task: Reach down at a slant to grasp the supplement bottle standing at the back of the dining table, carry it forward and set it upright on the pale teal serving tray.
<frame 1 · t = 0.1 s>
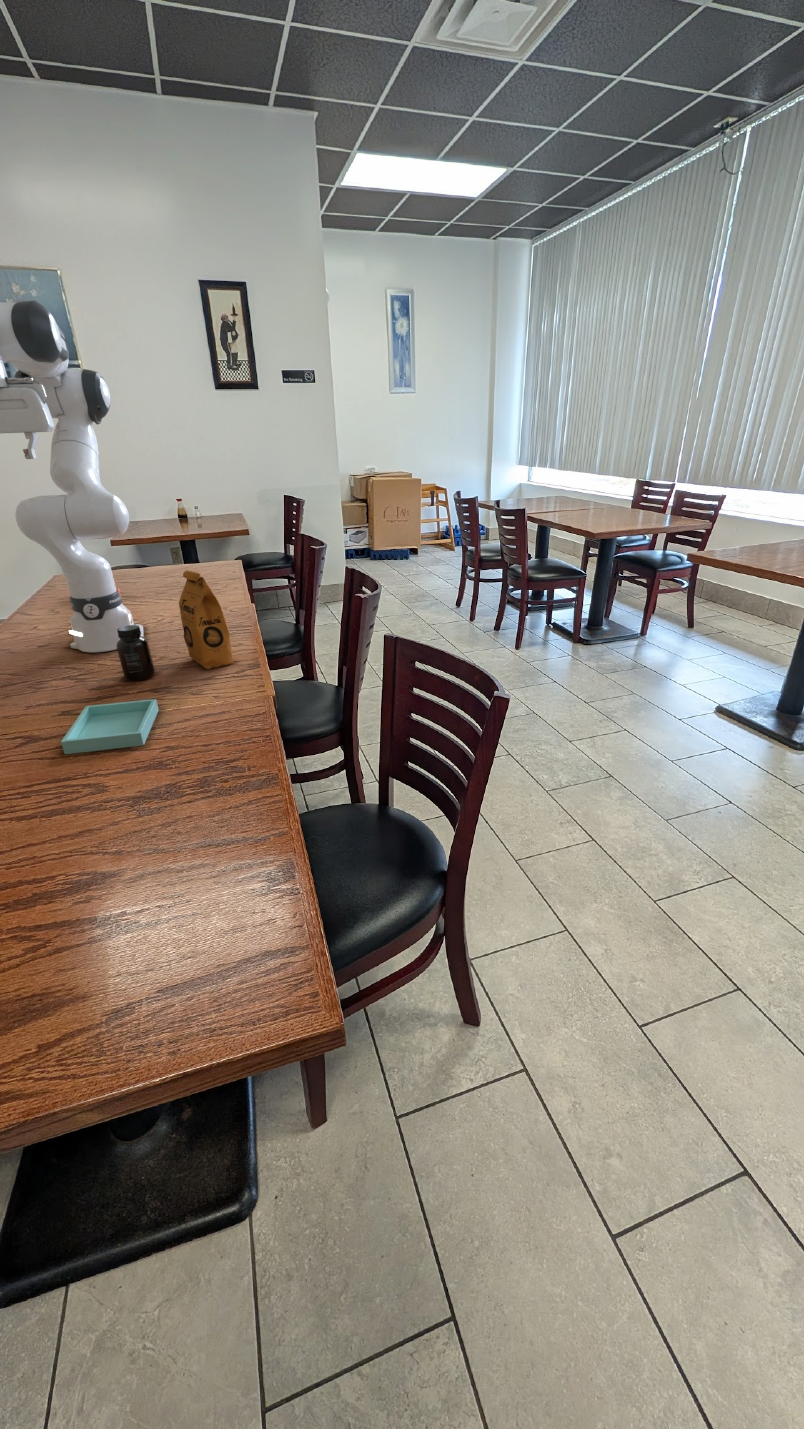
hand: (5, 460, 114), 48 cm above the table, tool pointing down, fingers open, 8 cm apart
coffee package: (212, 661, 147), on the table
serving tray: (115, 730, 114), on the table
supplement bottle: (140, 677, 139), on the table
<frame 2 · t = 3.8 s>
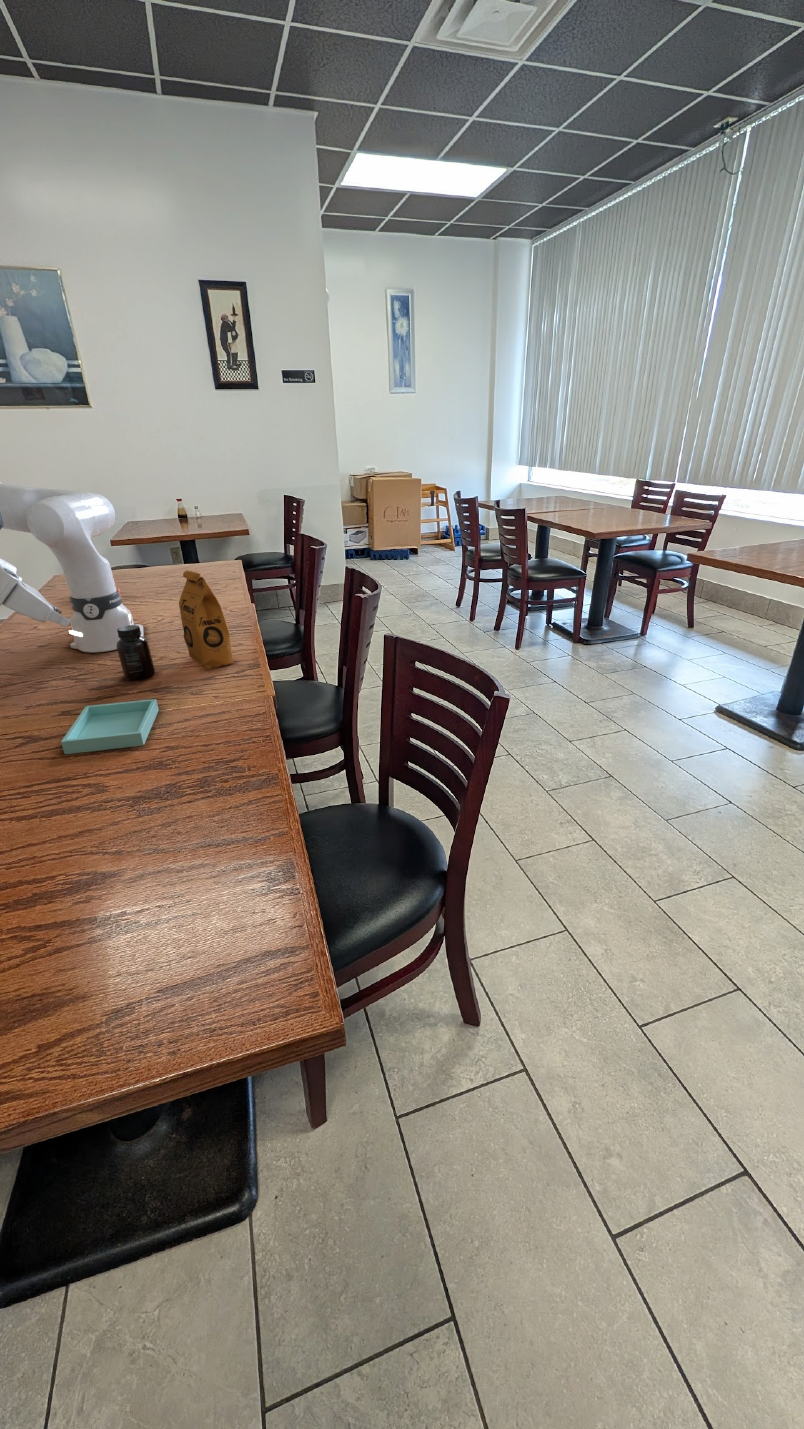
hand: (63, 618, 125), 17 cm above the table, tool tilted 45°, fingers open, 8 cm apart
nothing on the table moved.
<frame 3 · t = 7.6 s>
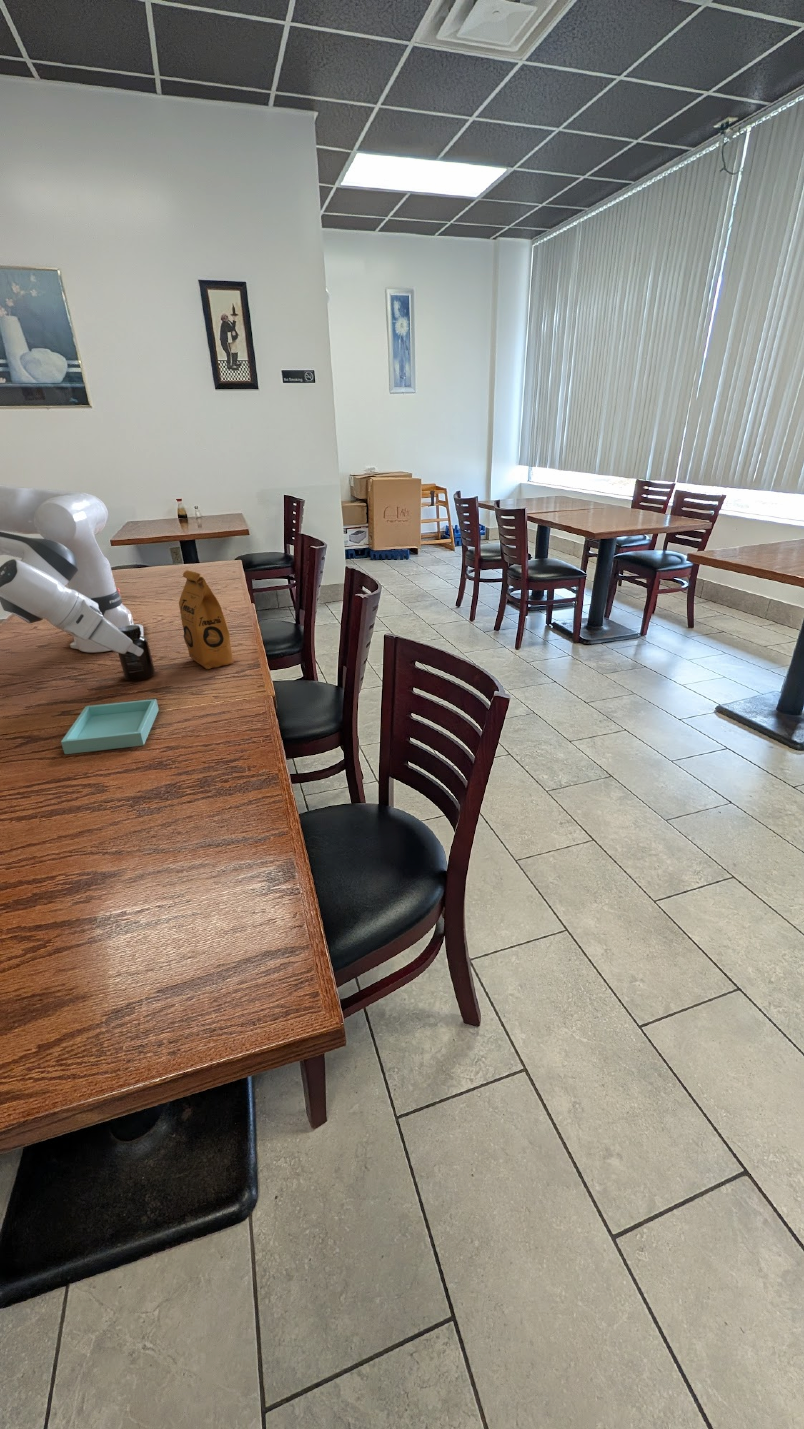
hand: (136, 648, 136), 7 cm above the table, tool tilted 45°, fingers closed on supplement bottle, 7 cm apart
supplement bottle: (140, 677, 139), on the table, touching gripper
everything else where it was.
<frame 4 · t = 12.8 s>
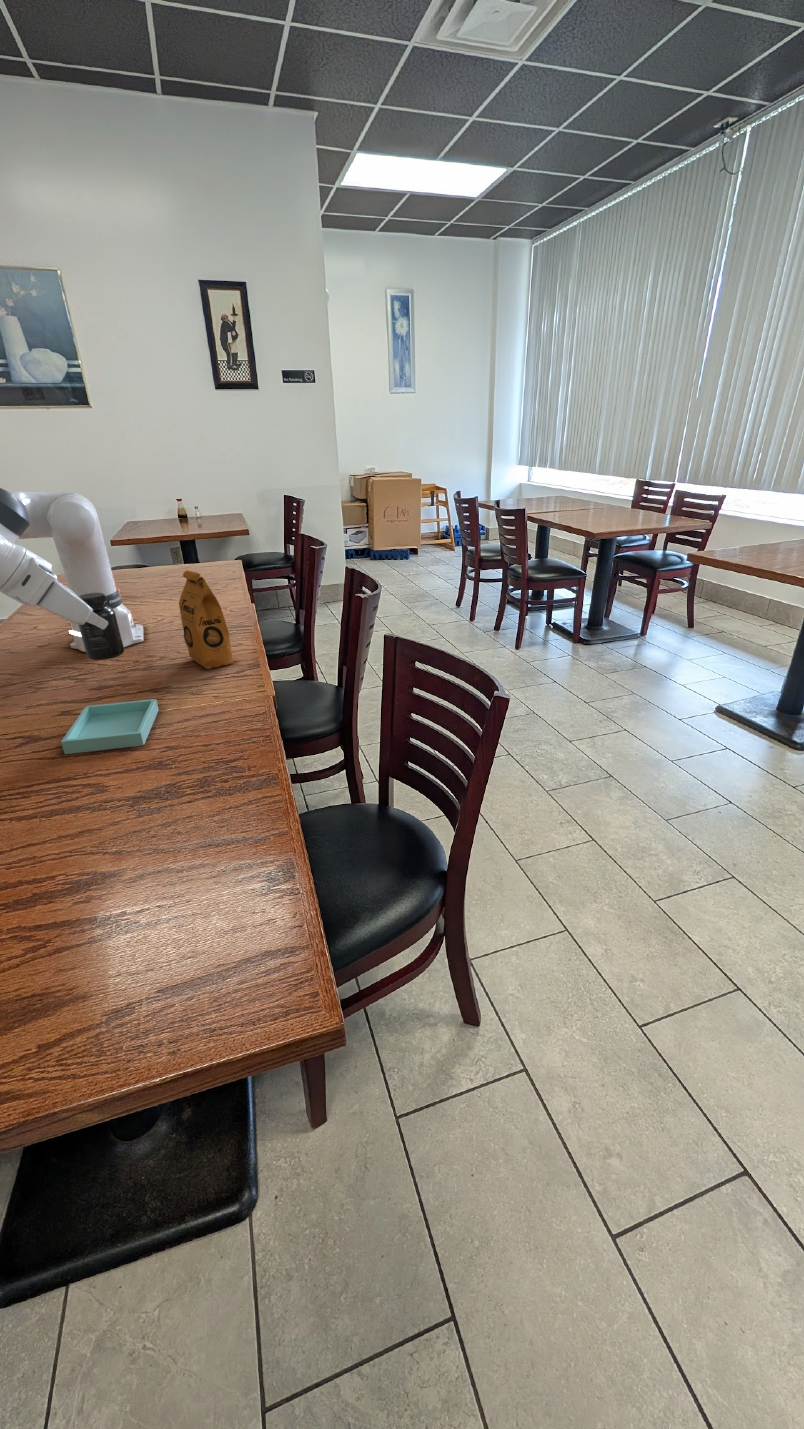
hand: (101, 621, 114), 19 cm above the table, tool tilted 45°, fingers closed on supplement bottle, 7 cm apart
supplement bottle: (106, 656, 116), point 12 cm above the table, touching gripper
everything else where it was.
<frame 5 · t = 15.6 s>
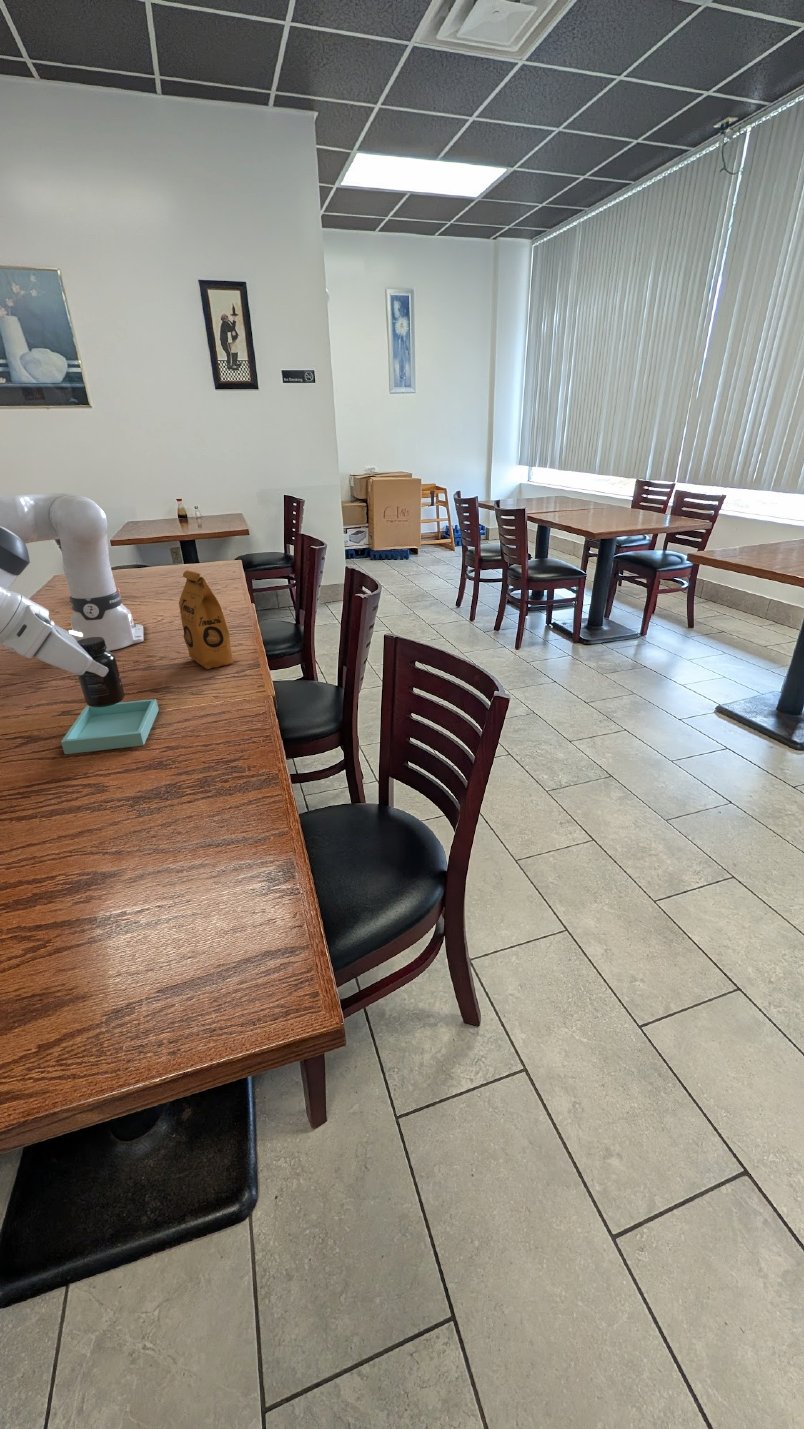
hand: (100, 666, 108), 13 cm above the table, tool tilted 45°, fingers closed on supplement bottle, 7 cm apart
supplement bottle: (106, 701, 111), point 6 cm above the table, touching gripper
everything else where it was.
when the fingers open (7 cm above the table, at t = 17.9 s): supplement bottle stays where it is, resting on serving tray.
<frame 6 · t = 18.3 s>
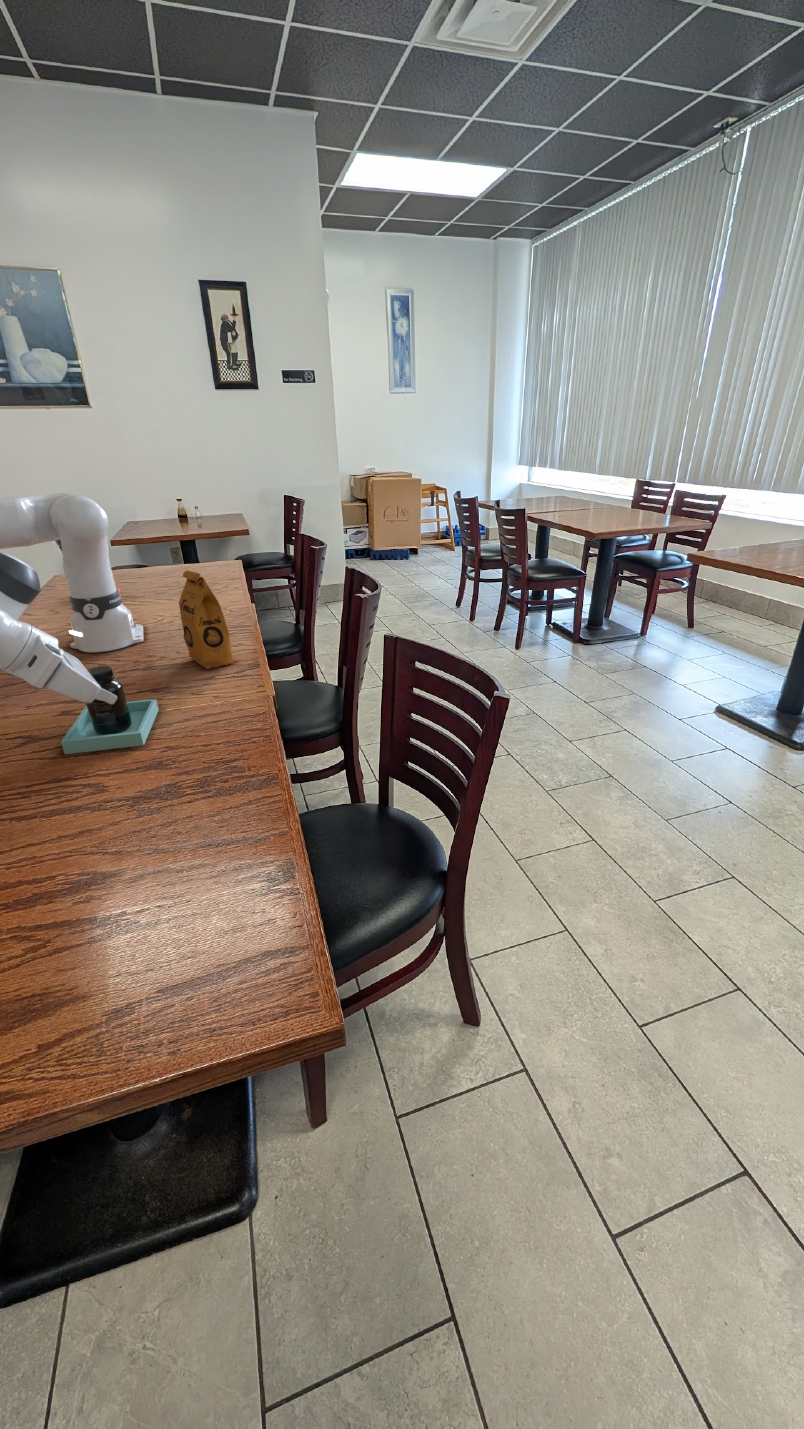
hand: (108, 692, 110), 8 cm above the table, tool tilted 45°, fingers open, 8 cm apart
supplement bottle: (114, 728, 113), resting on serving tray
everything else where it was.
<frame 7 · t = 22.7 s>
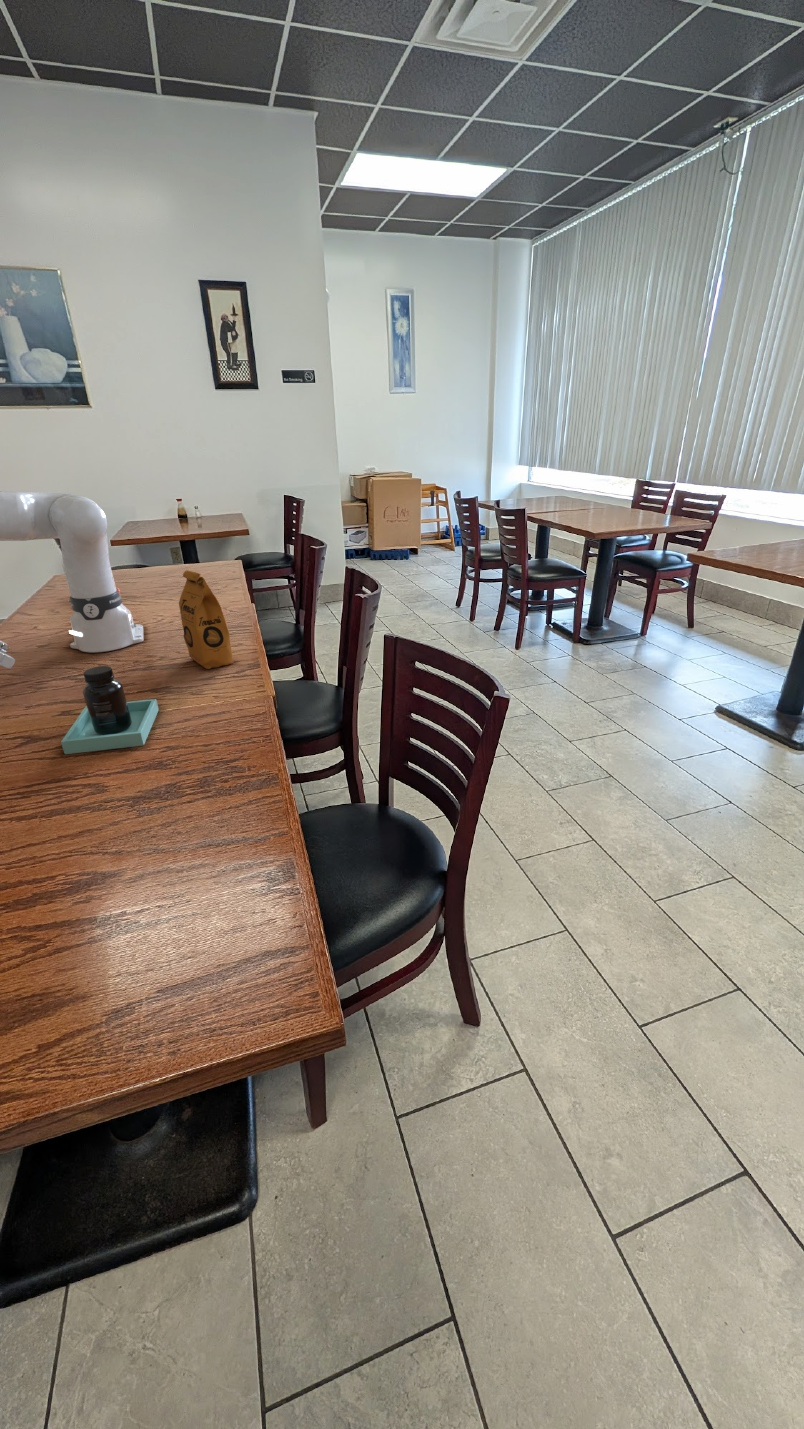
hand: (9, 656, 99), 18 cm above the table, tool tilted 45°, fingers open, 8 cm apart
nothing on the table moved.
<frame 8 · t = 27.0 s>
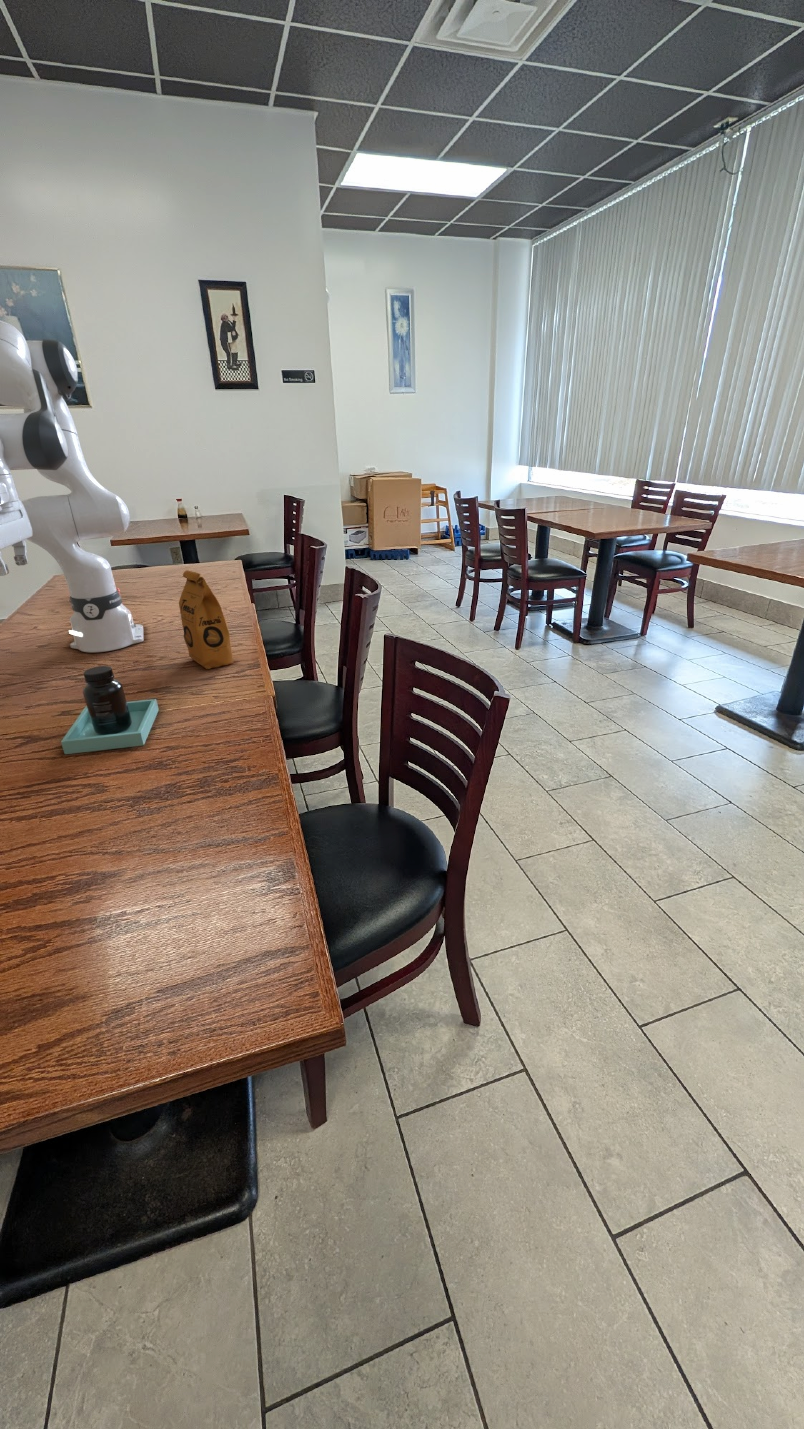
hand: (13, 569, 112), 29 cm above the table, tool pointing down, fingers open, 8 cm apart
nothing on the table moved.
at the end: supplement bottle inside the target area in the serving tray (0.1 cm from its centre), point 0.4 cm above the serving tray's base; supplement bottle tilted 0°; the gripper is holding nothing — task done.
